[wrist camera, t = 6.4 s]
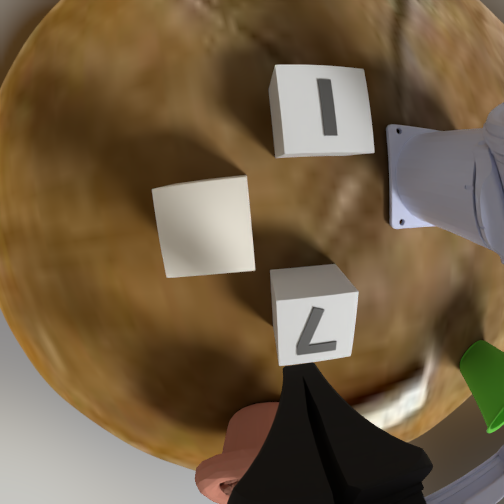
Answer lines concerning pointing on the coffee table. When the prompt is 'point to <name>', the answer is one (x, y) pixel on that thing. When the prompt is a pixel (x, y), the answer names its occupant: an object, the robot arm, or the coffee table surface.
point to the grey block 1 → (320, 111)
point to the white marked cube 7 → (312, 313)
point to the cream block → (205, 226)
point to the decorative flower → (236, 451)
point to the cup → (486, 381)
